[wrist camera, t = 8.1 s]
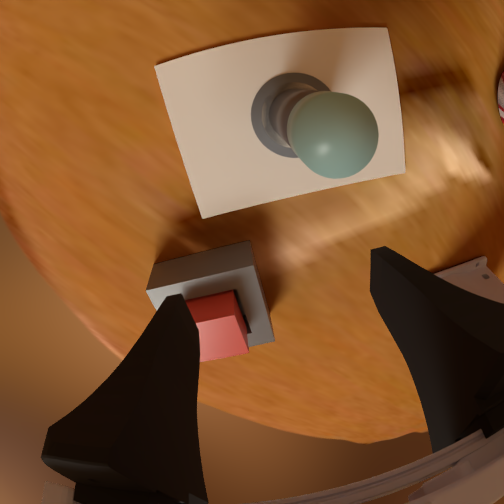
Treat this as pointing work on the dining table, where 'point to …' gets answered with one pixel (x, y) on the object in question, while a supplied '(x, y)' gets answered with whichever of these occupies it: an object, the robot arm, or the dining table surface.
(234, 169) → the sheet
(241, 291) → the button housing
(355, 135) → the cylinder
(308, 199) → the dining table surface
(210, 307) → the button
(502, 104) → the soda can
